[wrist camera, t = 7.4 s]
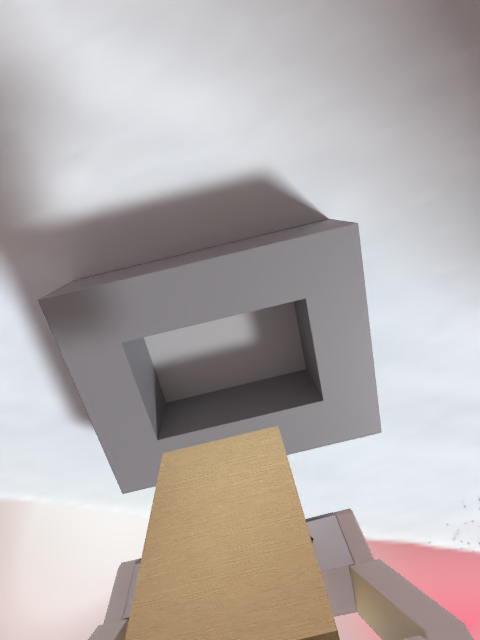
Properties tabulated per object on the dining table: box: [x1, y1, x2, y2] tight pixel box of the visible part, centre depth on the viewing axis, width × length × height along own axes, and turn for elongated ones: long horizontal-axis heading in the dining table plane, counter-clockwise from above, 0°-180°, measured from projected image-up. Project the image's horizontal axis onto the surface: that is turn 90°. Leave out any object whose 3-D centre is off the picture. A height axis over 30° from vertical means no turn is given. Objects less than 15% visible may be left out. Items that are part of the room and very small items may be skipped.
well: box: [38, 219, 381, 494], centre depth 24 cm, size 18×14×5 cm
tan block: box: [125, 426, 339, 640], centre depth 10 cm, size 4×5×6 cm
